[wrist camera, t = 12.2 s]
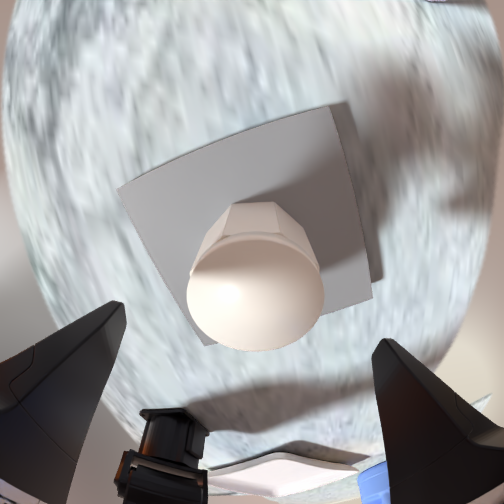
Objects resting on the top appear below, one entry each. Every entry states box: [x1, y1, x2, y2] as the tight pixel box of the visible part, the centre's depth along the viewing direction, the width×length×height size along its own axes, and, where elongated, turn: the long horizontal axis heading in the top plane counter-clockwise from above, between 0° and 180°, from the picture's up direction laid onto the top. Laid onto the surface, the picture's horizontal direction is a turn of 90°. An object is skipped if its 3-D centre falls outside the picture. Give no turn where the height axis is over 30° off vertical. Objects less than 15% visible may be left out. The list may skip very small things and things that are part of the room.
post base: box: [116, 106, 373, 346], centre depth 14 cm, size 12×12×6 cm
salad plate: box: [208, 452, 359, 498], centre depth 34 cm, size 21×21×3 cm
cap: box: [187, 202, 324, 352], centre depth 13 cm, size 5×5×5 cm
